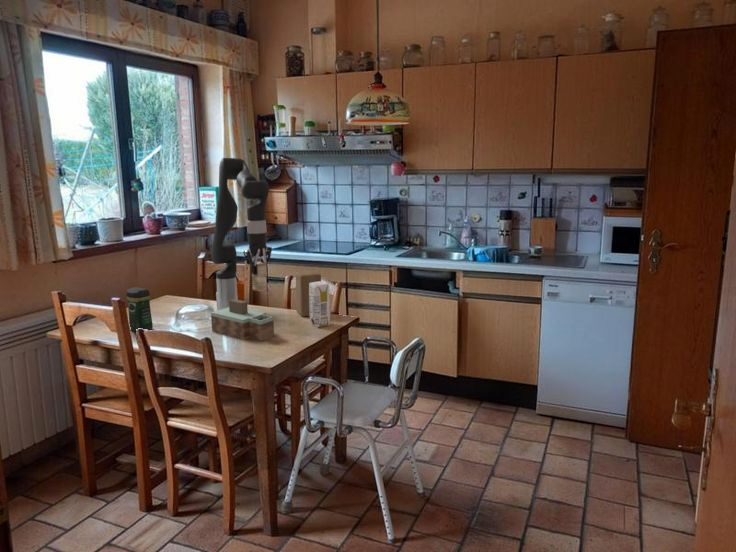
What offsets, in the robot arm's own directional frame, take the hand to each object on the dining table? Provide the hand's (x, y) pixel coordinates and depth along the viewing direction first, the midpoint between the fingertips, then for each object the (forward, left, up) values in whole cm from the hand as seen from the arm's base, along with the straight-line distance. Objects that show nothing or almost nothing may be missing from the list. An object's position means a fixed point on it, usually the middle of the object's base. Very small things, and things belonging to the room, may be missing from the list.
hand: (258, 273), depth 230 cm
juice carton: (+9, +27, -27) cm, 39 cm away
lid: (-10, 0, -21) cm, 23 cm away
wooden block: (-7, +38, -27) cm, 47 cm away
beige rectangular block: (0, 0, -7) cm, 7 cm away
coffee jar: (-51, -22, -27) cm, 62 cm away
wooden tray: (-10, 0, -27) cm, 29 cm away
